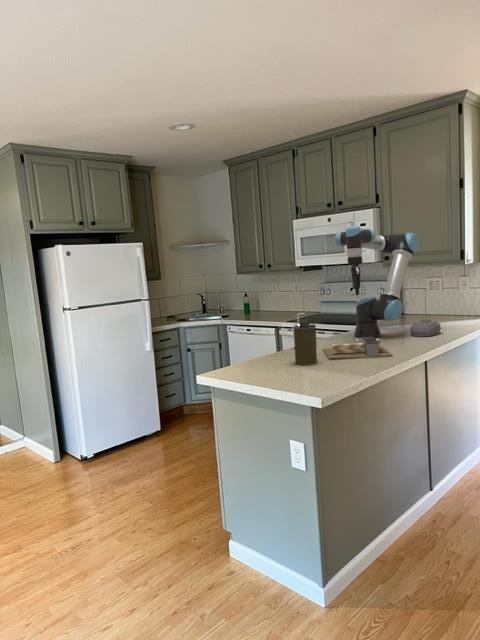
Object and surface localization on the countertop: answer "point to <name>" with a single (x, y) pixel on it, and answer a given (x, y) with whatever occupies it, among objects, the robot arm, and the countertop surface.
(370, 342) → the block
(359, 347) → the link
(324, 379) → the countertop surface
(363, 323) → the robot arm
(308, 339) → the canister
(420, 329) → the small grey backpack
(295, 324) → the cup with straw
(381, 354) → the base plate
